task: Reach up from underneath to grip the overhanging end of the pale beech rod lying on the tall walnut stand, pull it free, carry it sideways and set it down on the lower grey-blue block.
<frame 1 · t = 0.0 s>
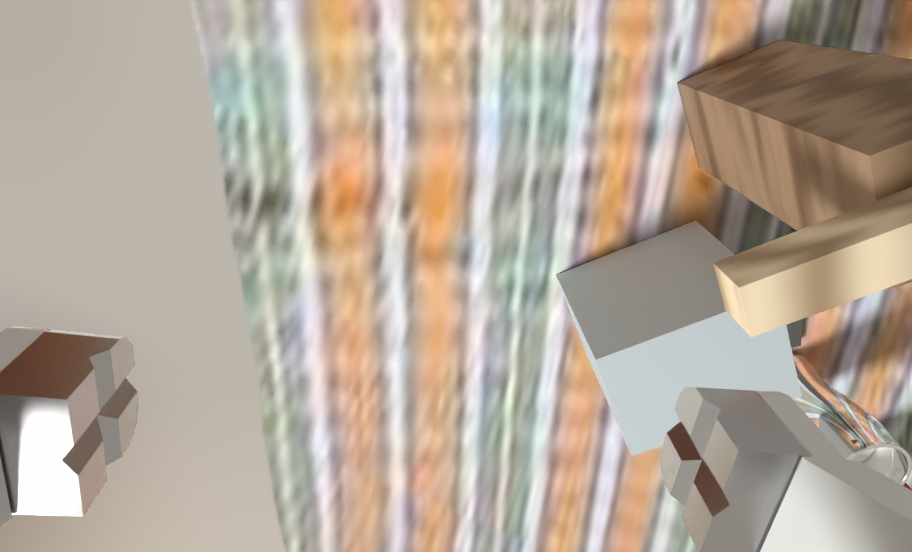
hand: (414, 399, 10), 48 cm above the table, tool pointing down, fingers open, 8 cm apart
beech rod: (908, 215, 33), point 26 cm above the table, touching walnut stand
charcoal grey bar: (798, 253, 62), on the table
beer glass: (782, 376, 69), on the table
walnut stand: (737, 105, 56), on the table
grey-blue block: (638, 290, 63), on the table
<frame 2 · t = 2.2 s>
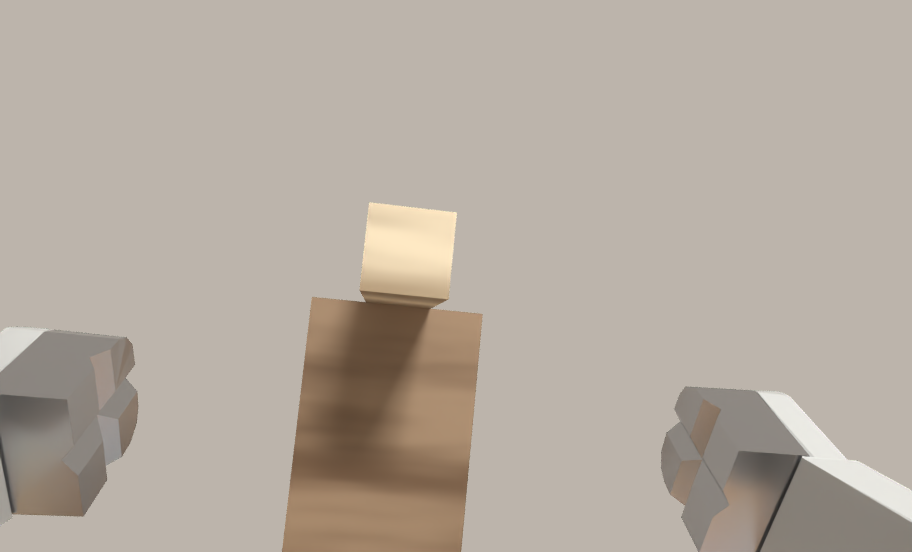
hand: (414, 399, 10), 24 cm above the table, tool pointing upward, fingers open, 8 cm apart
beech rod: (397, 306, 31), point 26 cm above the table, touching walnut stand
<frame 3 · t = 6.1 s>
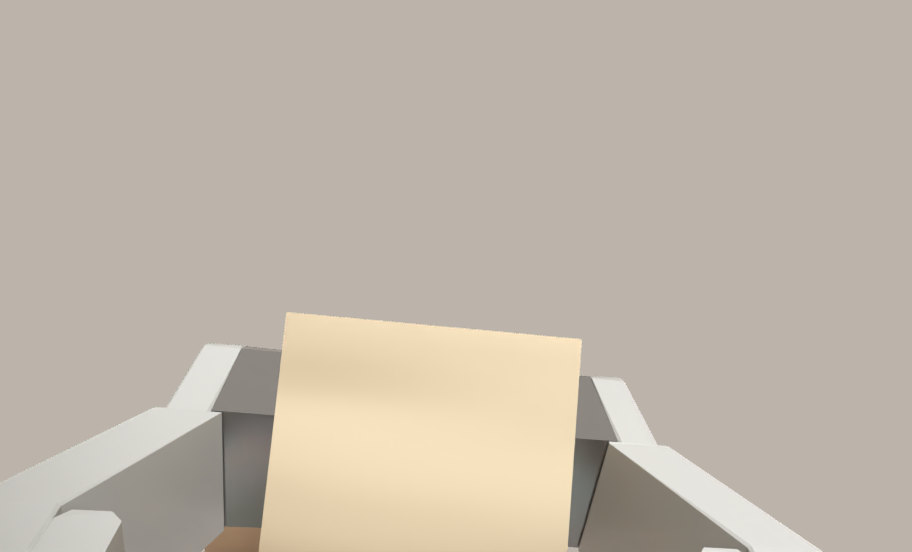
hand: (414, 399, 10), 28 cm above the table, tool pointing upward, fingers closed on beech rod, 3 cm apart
beech rod: (396, 452, 16), point 26 cm above the table, touching gripper, walnut stand
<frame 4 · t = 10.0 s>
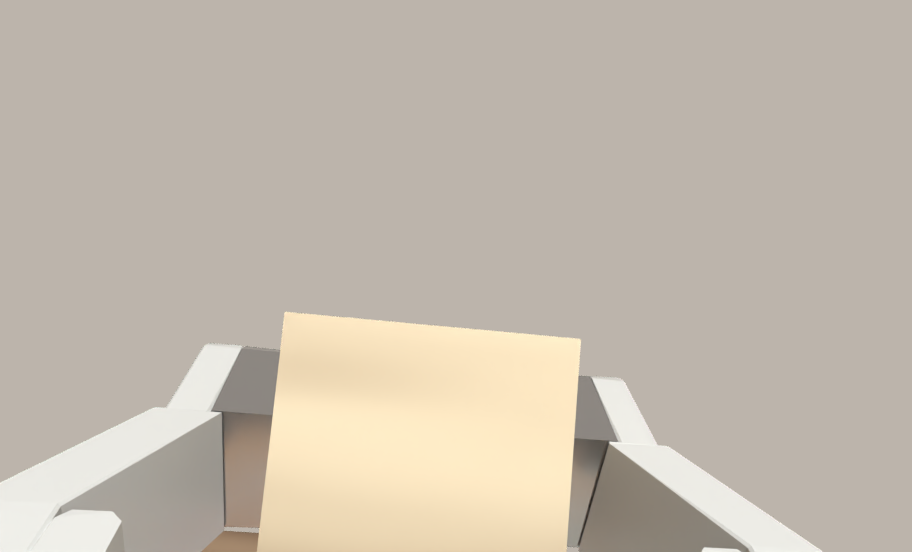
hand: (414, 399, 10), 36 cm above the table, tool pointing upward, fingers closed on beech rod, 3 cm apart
beech rod: (394, 452, 16), point 34 cm above the table, touching gripper
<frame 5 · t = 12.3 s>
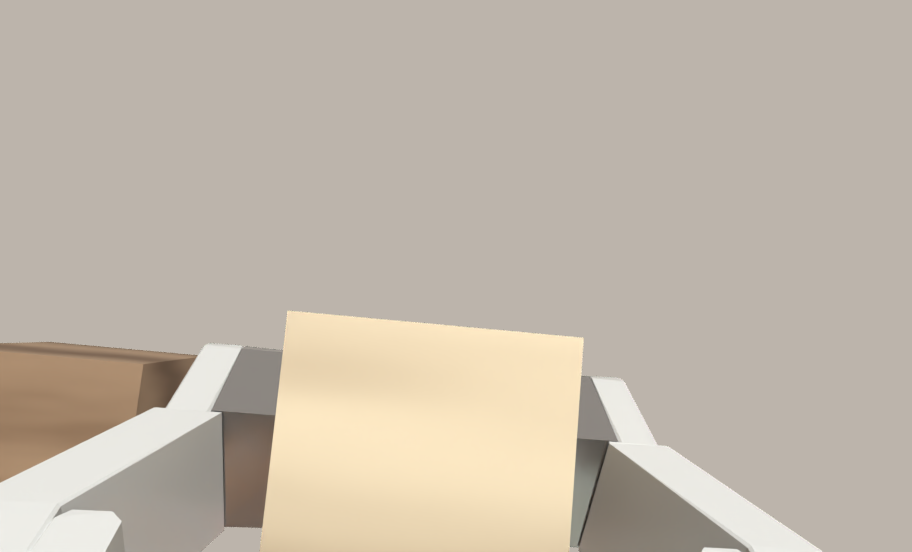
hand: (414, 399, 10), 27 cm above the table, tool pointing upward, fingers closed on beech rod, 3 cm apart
beech rod: (395, 451, 16), point 25 cm above the table, touching gripper
when the fingers open (19 cm above the table, at t = 14.1 s): beech rod drops 1 cm, resting on grey-blue block.
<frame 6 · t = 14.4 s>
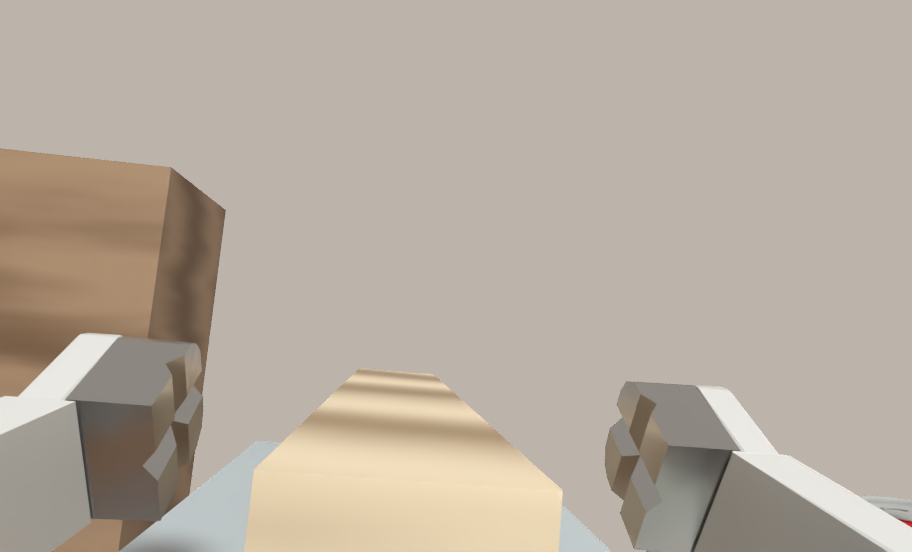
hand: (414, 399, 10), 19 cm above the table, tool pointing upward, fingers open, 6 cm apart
beech rod: (387, 514, 16), point 15 cm above the table, touching grey-blue block
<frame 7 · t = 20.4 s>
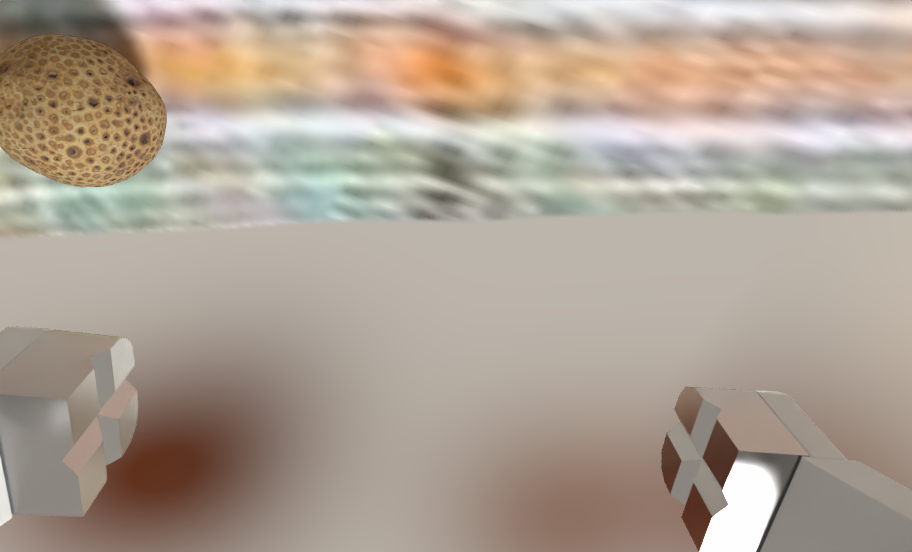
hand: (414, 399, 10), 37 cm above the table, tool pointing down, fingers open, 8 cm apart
natural sponge: (119, 99, 43), on the table
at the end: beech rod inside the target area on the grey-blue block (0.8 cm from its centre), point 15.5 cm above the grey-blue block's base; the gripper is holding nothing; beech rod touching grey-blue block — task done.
